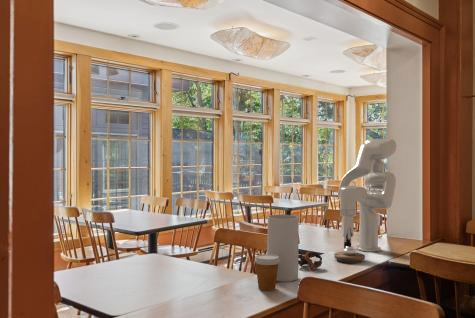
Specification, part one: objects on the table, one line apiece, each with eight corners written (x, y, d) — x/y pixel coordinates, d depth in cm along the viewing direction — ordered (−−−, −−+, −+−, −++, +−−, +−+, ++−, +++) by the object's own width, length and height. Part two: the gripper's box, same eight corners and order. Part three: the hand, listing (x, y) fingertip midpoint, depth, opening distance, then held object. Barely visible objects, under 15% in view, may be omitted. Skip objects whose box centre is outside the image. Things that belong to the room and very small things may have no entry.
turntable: (332, 256, 227) (332, 250, 227) (361, 257, 226) (361, 251, 226) (336, 263, 213) (336, 257, 213) (367, 264, 212) (367, 258, 212)
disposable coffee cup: (272, 293, 166) (272, 260, 166) (249, 289, 171) (249, 257, 171) (283, 287, 174) (284, 255, 174) (261, 283, 179) (262, 252, 179)
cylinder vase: (296, 283, 180) (297, 219, 180) (265, 281, 182) (265, 218, 182) (299, 275, 192) (299, 215, 192) (269, 273, 195) (269, 214, 194)
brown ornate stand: (316, 265, 211) (322, 252, 207) (318, 280, 202) (324, 266, 198) (291, 259, 210) (297, 245, 206) (292, 273, 202) (298, 259, 198)
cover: (342, 252, 224) (342, 245, 224) (354, 253, 223) (354, 245, 223) (343, 255, 218) (343, 247, 218) (356, 255, 217) (356, 247, 217)
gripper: (338, 210, 233) (337, 247, 233) (342, 214, 218) (341, 253, 218) (353, 211, 232) (353, 247, 232) (358, 214, 217) (357, 253, 217)
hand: (347, 250), depth 225 cm, fingers closed
